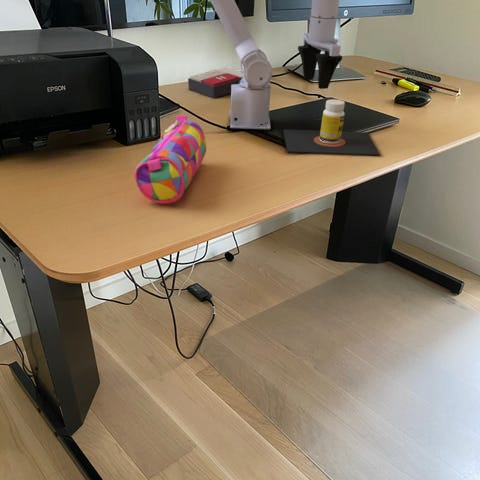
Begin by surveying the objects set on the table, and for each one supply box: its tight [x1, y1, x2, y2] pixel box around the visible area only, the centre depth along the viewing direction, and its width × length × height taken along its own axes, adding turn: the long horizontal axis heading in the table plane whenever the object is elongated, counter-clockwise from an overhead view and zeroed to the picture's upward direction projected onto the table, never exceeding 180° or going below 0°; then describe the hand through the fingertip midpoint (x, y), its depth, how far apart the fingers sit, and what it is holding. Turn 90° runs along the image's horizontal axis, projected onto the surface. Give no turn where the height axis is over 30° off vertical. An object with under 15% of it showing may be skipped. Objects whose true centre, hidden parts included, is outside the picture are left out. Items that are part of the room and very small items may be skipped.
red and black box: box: [187, 67, 244, 99], centre depth 145 cm, size 11×4×15 cm
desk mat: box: [282, 129, 381, 157], centre depth 115 cm, size 20×14×1 cm
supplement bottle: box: [319, 98, 346, 144], centre depth 112 cm, size 5×5×8 cm
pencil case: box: [134, 114, 207, 205], centre depth 92 cm, size 22×9×9 cm, turn 174°
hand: (315, 83), depth 118 cm, fingers open, 7 cm apart
